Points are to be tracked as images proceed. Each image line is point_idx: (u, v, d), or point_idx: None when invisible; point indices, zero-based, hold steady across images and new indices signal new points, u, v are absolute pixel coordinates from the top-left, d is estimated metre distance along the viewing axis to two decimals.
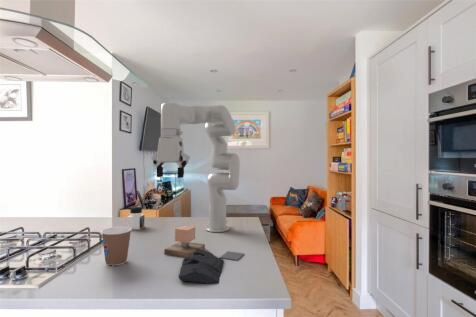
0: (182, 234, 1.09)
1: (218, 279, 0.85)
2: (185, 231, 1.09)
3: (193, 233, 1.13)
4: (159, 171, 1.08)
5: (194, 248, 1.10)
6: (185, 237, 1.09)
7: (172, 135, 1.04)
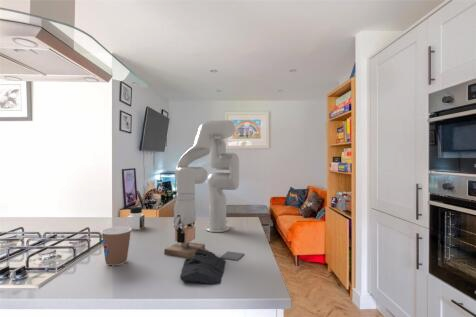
0: None
1: (220, 279, 0.85)
2: (185, 231, 1.09)
3: (193, 233, 1.13)
4: None
5: (194, 248, 1.10)
6: (185, 237, 1.09)
7: None
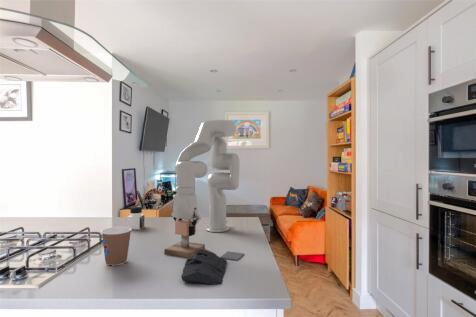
0: None
1: (221, 280, 0.85)
2: None
3: None
4: None
5: (194, 248, 1.10)
6: None
7: None
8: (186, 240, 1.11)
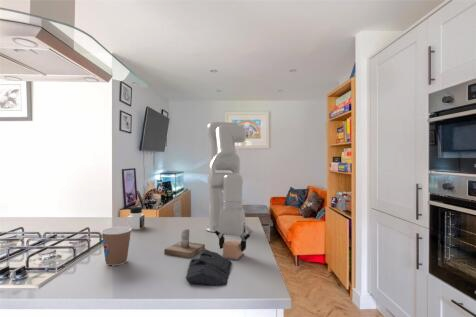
0: (240, 248, 1.06)
1: (226, 281, 0.84)
2: None
3: None
4: None
5: (194, 248, 1.10)
6: None
7: None
8: (186, 240, 1.11)
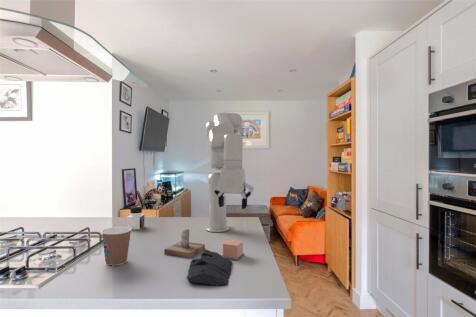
0: (240, 248, 1.06)
1: (227, 281, 0.84)
2: (241, 243, 1.07)
3: None
4: None
5: (194, 248, 1.10)
6: (241, 249, 1.07)
7: None
8: (186, 240, 1.11)
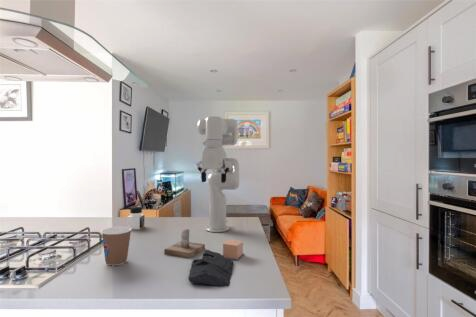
0: (240, 248, 1.06)
1: (228, 281, 0.83)
2: (241, 243, 1.07)
3: None
4: None
5: (194, 248, 1.10)
6: (241, 249, 1.07)
7: None
8: (186, 240, 1.11)
